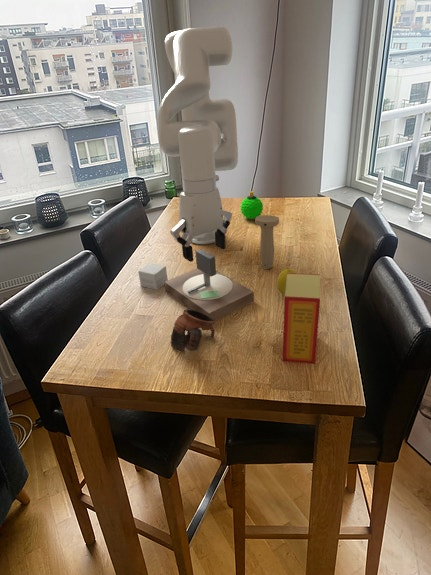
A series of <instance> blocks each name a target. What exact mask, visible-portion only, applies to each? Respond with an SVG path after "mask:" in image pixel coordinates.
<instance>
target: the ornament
mask: <svg viewBox="0 0 431 575" xmlns="http://www.w3.org/2000/svg"><path fill="white" fill-rule="evenodd" d="M263 207H264V205H263V202H262V200H261V199H260V198H259V197H257V196H256V195H254V191H253V190H252V191H249V195H248V196H247V197H245V198H244V199H243V200H242V201H241V204H240V211H241V215H243V217H244V218H246V219H250V220H255V218H256V217H257V216H261V214H262V213H263V210H264V208H263Z"/></svg>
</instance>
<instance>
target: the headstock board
mask: <svg viewBox="0 0 431 575" xmlns="http://www.w3.org/2000/svg"><path fill="white" fill-rule="evenodd" d="M201 274H203V272H202V271H201V270H199V269H197V268H195V269H192V270H189V271H186V272H185V273H182V274H179V275H177V276H175V277H172V278H170V279H168V281H165V282H164V288H165V290H164V291H165V293H167V294H168V295H170V296H171V297H173V298H174V299H176V300H177V301H178V302H180V303H181V304H182V305H183V306H185V307H186V308H187V309H190V310H195V311H198V312H201V313H203V314H206V315H207V316H209V317H211V318H212V319H213V322H214V323H215V322H217V321H219V320H220V319H222V318H224V317H227V316H229V315H230V314H232V313H235V312H237V311H238V310H240V309H242V308H244V307H246V306H248V305H250V304H252V303H254V302H255V291H254V290H252V289H250V288H248V287H247V286H244V284H241V283H240V282H238V281H236V280H234V279H232V278H231V277H229V276H227V275H226V274H224V273H222V272H221V271H218V270H217V269H216V274H219V275H223V276H226V277H227V278H229V279H230V280H231V281H232V283H233V288H232V290H231V291H230V292H229V293H228V294H227V295H225V296H223V297H221V298H218V299H213V300H197V299H193V298H190V297H188V296H187V295H185V294H184V292H183V285H184V283H185V282H186V281H187V280H188V279H190V278H192V277H194V276H197V275H201Z"/></svg>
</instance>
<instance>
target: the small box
mask: <svg viewBox="0 0 431 575" xmlns="http://www.w3.org/2000/svg"><path fill="white" fill-rule="evenodd" d="M137 273H138V276H139V277H138V278H139V282H140V287H144V288H147V289H152V290H156V291H157V290H159V289H160V288H161V287H162V286H164V285H165V283H164V282H165V281H168V280H169V279H168V272H167V266H166V265H162V264H157V263H152V262H149V263H148V264H146V265H145V266H144V267H142V268H140V269H139V270H138V271H137Z"/></svg>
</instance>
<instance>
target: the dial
mask: <svg viewBox="0 0 431 575" xmlns="http://www.w3.org/2000/svg"><path fill="white" fill-rule="evenodd" d="M226 276H227V275H226ZM226 276H223V275H219V274H216V275H214V276H212V277H211V276H210V283H211V285H210V286H208V287H207V286H204V287H202V288H200V289H198V290H195V291H193V292H191V293H188V292H187V291H188V290H190V289H193V288H195V287H197V286H200V285H202V284H204V274H201V275H197V276H194V277H192V278H190V279H188V280H187V281H186V282H185V283H184V285H183V292H184V294H185V295H187V296H188V297H190V298H193V299H197V300H213V299H218V298H221V297H223V296H225V295H227V294H228V293H229V292H230V291H231V290H232V288H233V283H232V281H231V280H230V279H229V278H230V277H229V278H227V277H228V276H227V277H226Z"/></svg>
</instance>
